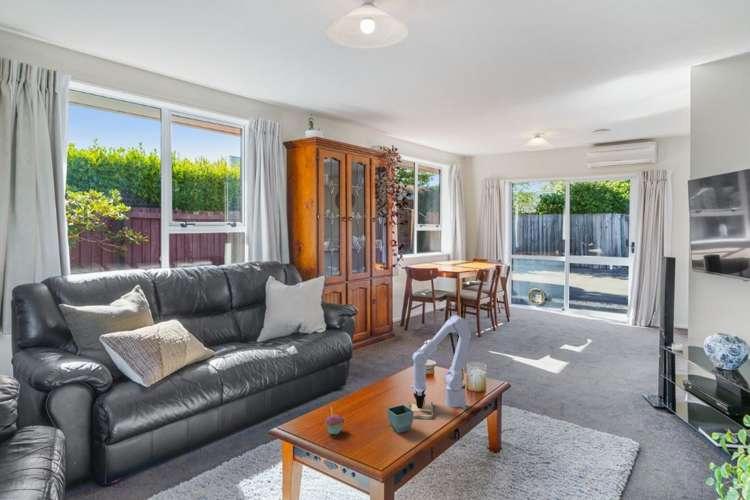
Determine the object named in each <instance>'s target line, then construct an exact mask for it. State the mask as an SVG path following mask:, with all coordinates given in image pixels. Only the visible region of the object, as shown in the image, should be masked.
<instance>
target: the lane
mask: <svg viewBox="0 0 750 500" xmlns="http://www.w3.org/2000/svg"><path fill="white" fill-rule="evenodd" d="M409 409H411V410H413V411H417V412H419V411H420V412H431V403H430V404H427V403H425V405H424V406H423V407H422V409H420V408H418V407H417V406H416V404H415V403H410V405H409Z"/></svg>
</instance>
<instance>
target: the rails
mask: <svg viewBox="0 0 750 500" xmlns="http://www.w3.org/2000/svg"><path fill="white" fill-rule="evenodd" d="M410 404H411V403H410V401H409V400H407V406H406V407H408V408H409V405H410ZM430 404H431V411H430V413H431V414H430V415H429V414H413V420H414V419H415V420H416V419H417V420H419V419H420V420H422V419H423V420H434V410H433V409H434V407H433V405H434V403H433V401H431V402H430Z"/></svg>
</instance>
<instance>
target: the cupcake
mask: <svg viewBox="0 0 750 500" xmlns="http://www.w3.org/2000/svg"><path fill="white" fill-rule="evenodd" d="M344 425H345V419H344V417H343V416H341V415H339V414H334V411H333V407H330V415H329V416H327V417H326V418H325V419H324V426H325V427H326V428H327V431H328V434H330V435H333V434H335V435H339V434H340V433H341V431H342V428H343V426H344ZM338 433H339V434H338Z"/></svg>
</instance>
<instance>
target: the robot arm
mask: <svg viewBox="0 0 750 500" xmlns="http://www.w3.org/2000/svg"><path fill="white" fill-rule="evenodd" d="M449 333H457V335H458V336H459V337H458V340H457V344H456V347H455V351H454V355H453V358H452V362H451V366H450V367H449V369H448V371H447V373H445V375H444V377H443V378H444V379H443V381H444V382H445V385H446V386H445V405H446V406H447V407H450V408H462V410H463V411H466V405H467V400H466V389H465V388H462V387H463V371H462V370H463V367H464V363H465V359H466V356H467V353H468V348H469V345H470V341H471V338H472V334H471V330H470V324H469V322H468V321H467V320H466V318H463V317H461V316H459V315H458V314H453V315H451V316H450V318H449V319H447V320H446V321H445V323H444V324H443V325H442V326H441V328H440V329H439V330H438V331H437V332H436V334H435V335H434V336H433V338H432V339H427V340H425V341H424V344H423V345H422V346H421V347H420V348H419V349H417V351H415V352H414V353H413V354H412V356H411V359H412V361H413V385H411V389H414V391H415V392H413V397H414V400H415V399H416V403H417V407H418V408H420V409H422V407H423V401H424V399H425V398H426V395H427V394H426V393H425V392H426V390H427V377H426V376H427V373H426V372H427V371H426V369H427V368H426V364H427V363H428V359H429V358H430V357H431V355H432V354H433V353H435V351H436V350H437V348H438V344H439V343H440V342H441V341H442V340H443V339H444V338H445V337H447V335H449Z"/></svg>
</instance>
